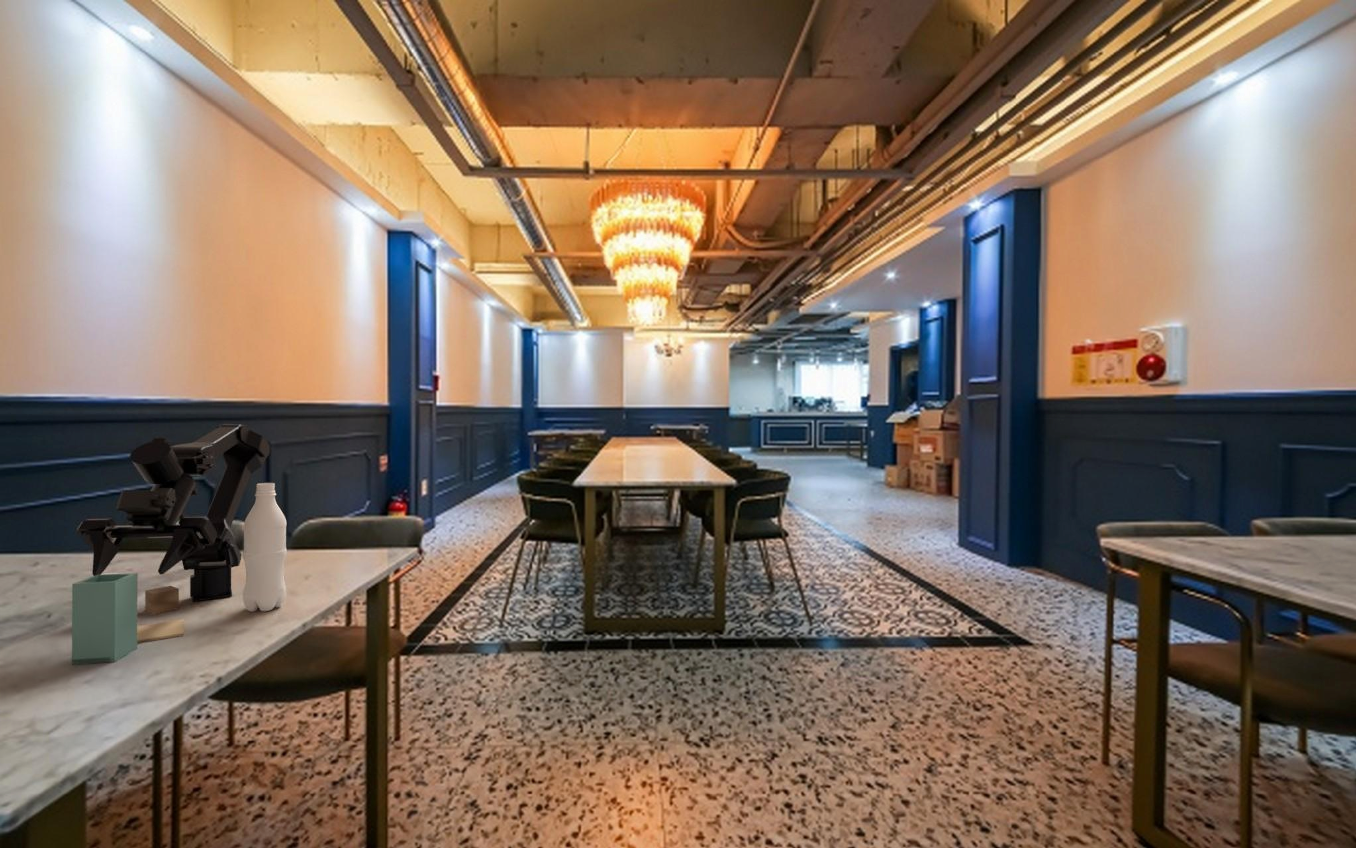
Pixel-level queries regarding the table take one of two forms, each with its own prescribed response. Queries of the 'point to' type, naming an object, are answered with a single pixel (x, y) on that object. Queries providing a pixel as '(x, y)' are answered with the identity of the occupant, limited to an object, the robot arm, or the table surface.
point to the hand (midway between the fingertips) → (127, 574)
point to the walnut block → (161, 599)
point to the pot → (104, 618)
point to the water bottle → (264, 552)
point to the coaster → (160, 630)
